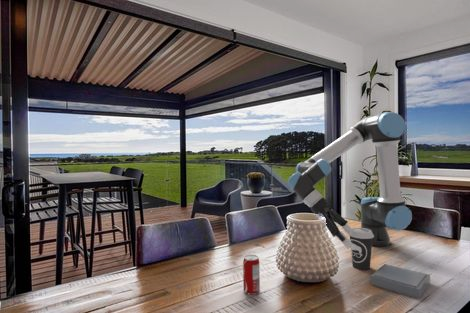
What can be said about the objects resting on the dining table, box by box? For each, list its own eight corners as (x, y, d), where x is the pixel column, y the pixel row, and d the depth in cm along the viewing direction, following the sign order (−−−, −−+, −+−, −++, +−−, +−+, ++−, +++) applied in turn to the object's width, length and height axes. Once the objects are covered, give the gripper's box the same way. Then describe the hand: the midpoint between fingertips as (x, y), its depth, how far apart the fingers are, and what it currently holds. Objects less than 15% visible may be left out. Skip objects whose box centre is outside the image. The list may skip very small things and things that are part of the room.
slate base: (384, 271, 115) (384, 263, 115) (430, 283, 104) (430, 274, 104) (370, 284, 104) (370, 275, 104) (419, 298, 94) (419, 288, 93)
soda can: (243, 287, 103) (243, 253, 103) (259, 287, 103) (258, 253, 102) (243, 295, 97) (243, 259, 97) (260, 295, 97) (259, 259, 97)
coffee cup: (377, 272, 114) (376, 234, 114) (350, 270, 116) (350, 232, 116) (370, 263, 123) (370, 227, 123) (346, 261, 125) (346, 226, 125)
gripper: (317, 203, 139) (351, 239, 132) (301, 213, 118) (341, 257, 111) (328, 193, 137) (363, 229, 130) (315, 201, 115) (356, 245, 108)
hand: (353, 242), depth 120 cm, fingers open, 13 cm apart
